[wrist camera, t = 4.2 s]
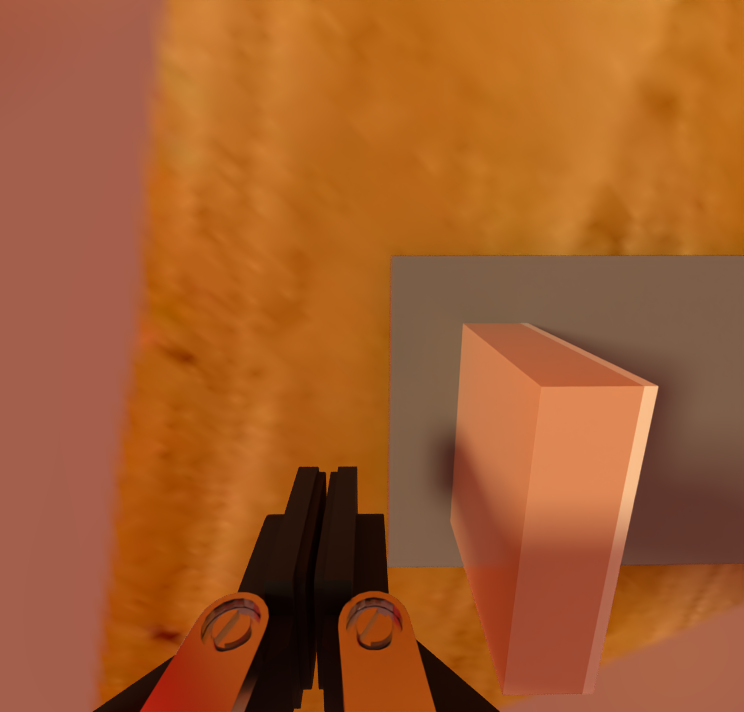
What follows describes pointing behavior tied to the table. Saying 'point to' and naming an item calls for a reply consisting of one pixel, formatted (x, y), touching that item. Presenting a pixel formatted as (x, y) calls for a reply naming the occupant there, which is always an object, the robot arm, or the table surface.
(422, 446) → the board
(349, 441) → the table surface
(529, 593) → the tile
